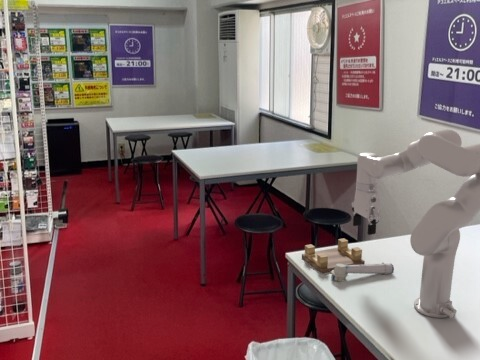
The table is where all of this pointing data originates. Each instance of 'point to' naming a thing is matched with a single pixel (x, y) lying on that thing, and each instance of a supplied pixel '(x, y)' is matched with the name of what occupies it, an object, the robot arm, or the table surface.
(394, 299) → the table surface
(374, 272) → the electric toothbrush handle
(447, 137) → the robot arm
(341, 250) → the rack
